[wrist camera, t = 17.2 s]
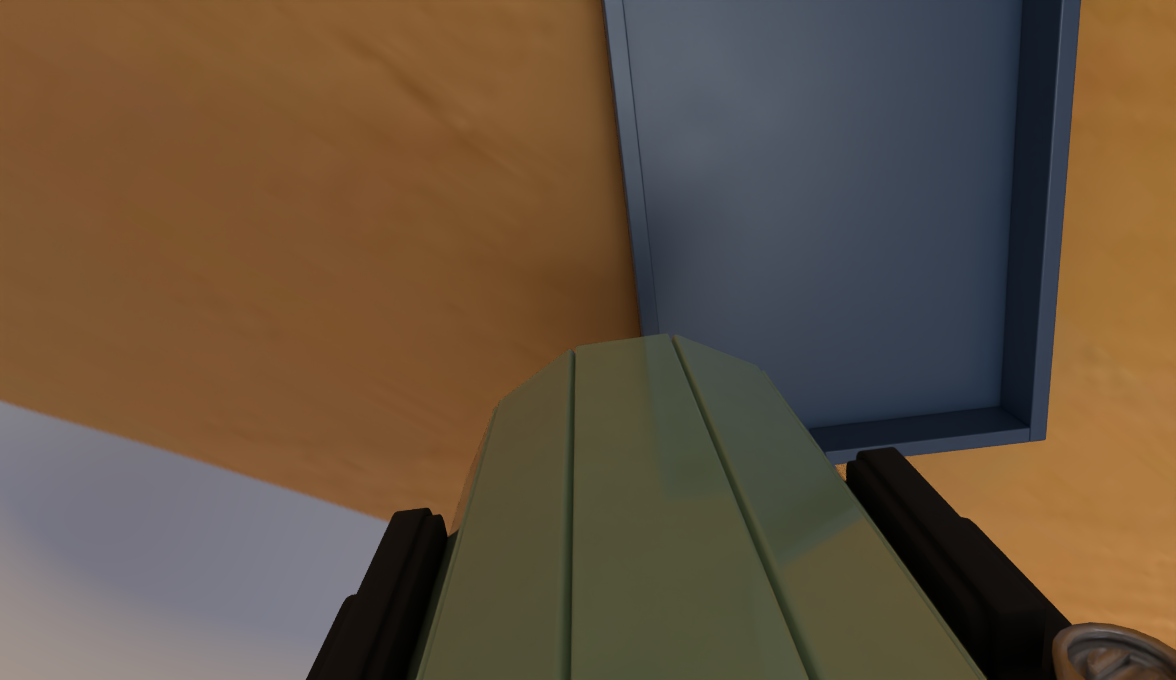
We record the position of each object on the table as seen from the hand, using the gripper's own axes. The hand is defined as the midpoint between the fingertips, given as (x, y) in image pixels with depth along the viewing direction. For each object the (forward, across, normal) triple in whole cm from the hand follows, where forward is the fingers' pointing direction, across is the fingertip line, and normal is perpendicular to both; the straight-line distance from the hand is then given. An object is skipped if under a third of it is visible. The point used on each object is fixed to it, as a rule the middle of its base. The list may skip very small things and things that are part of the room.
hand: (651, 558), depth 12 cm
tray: (+15, -8, -4) cm, 17 cm away
